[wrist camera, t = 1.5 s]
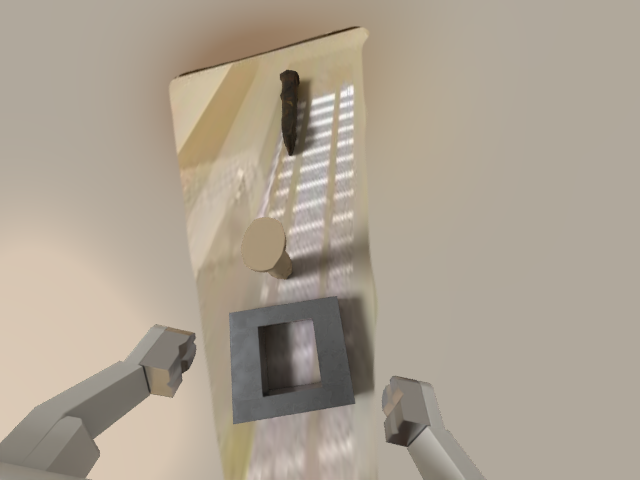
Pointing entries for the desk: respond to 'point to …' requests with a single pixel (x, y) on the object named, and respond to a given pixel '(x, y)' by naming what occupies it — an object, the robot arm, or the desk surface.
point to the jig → (251, 362)
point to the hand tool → (289, 107)
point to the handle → (266, 248)
